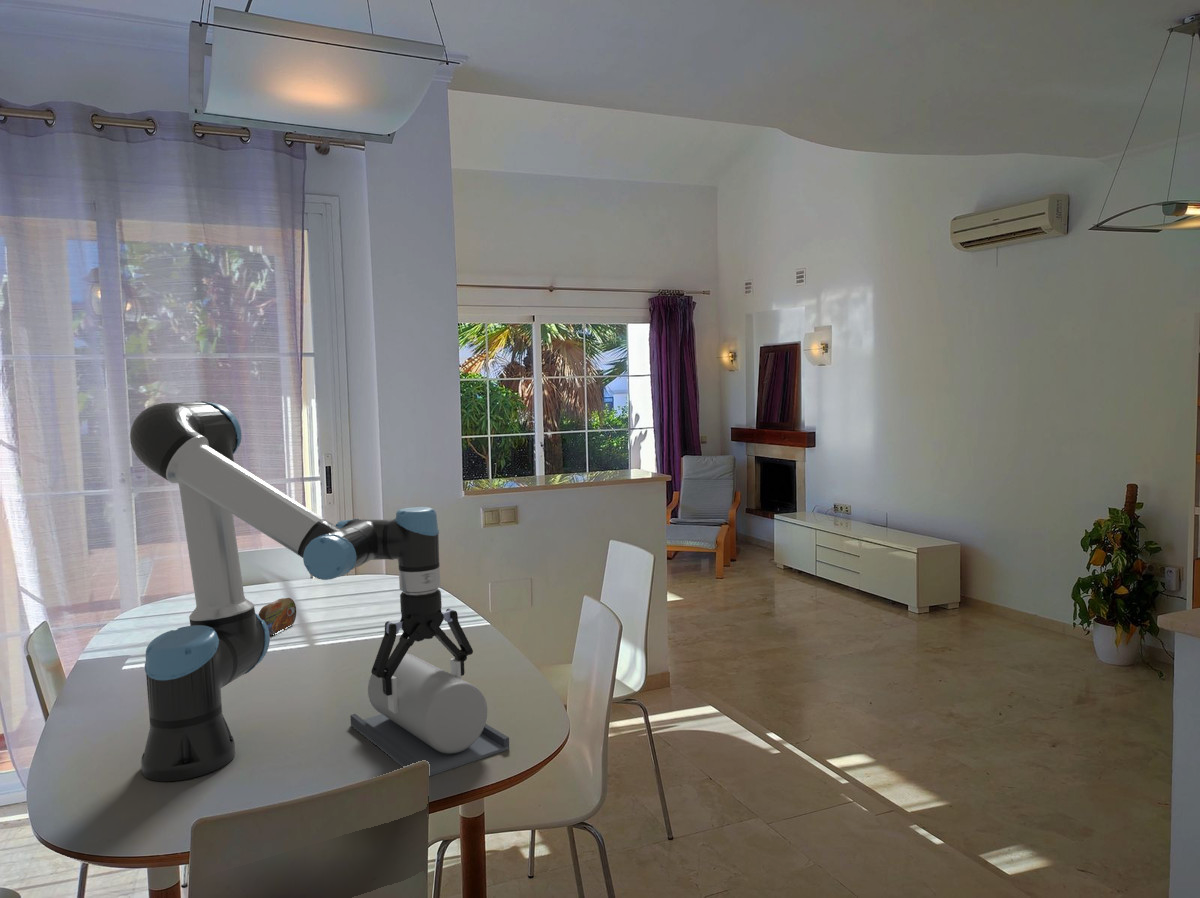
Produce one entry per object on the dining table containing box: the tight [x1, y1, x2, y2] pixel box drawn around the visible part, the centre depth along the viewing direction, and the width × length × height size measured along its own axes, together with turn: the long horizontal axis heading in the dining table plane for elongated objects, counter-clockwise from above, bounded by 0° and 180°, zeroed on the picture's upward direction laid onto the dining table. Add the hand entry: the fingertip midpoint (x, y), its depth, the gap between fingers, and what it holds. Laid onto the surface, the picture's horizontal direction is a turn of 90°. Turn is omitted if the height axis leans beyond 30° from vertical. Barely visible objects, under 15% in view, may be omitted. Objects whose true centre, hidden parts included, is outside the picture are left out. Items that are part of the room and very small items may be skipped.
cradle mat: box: [349, 713, 510, 777], centre depth 158 cm, size 30×18×2 cm, turn 38°
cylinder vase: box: [367, 652, 488, 754], centre depth 157 cm, size 12×12×25 cm
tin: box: [258, 597, 297, 636], centre depth 231 cm, size 15×3×8 cm, turn 168°
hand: (425, 701), depth 157 cm, fingers closed on cylinder vase, 12 cm apart
